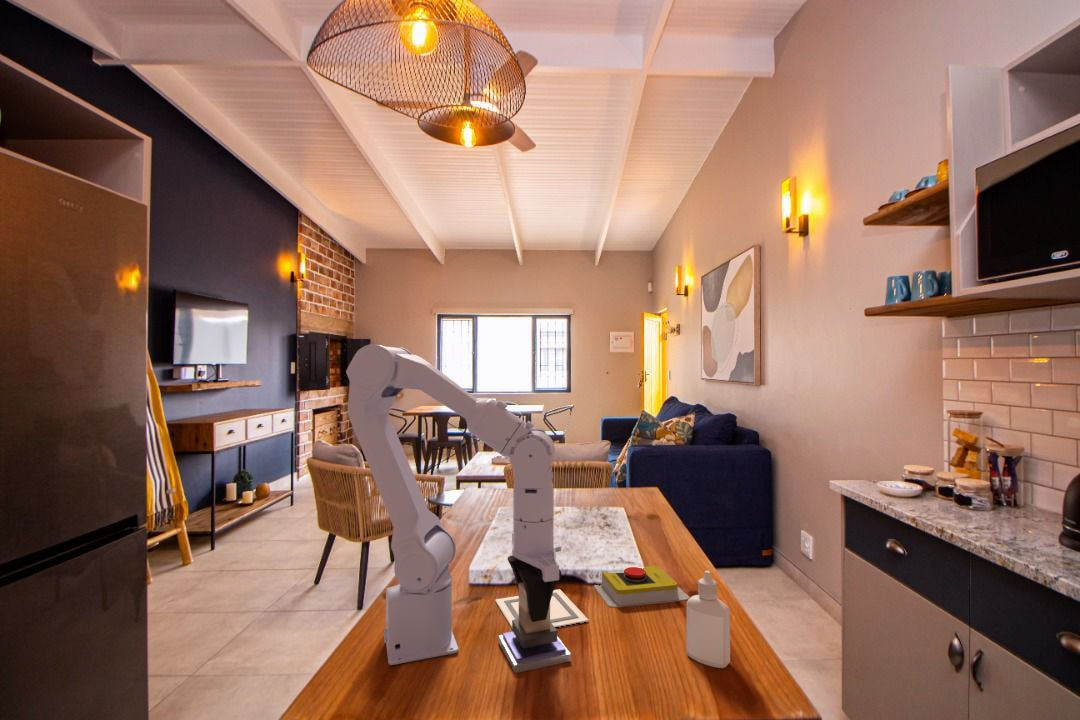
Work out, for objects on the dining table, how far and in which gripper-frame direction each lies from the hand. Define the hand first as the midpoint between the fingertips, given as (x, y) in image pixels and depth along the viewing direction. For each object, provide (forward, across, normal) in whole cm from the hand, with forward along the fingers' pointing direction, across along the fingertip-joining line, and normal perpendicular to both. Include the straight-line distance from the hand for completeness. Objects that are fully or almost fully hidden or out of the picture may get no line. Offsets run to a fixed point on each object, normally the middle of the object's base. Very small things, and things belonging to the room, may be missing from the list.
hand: (533, 613), depth 72 cm
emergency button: (+6, +12, -24) cm, 28 cm away
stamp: (+3, 0, 0) cm, 3 cm away
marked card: (+5, +11, -5) cm, 13 cm away
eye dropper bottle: (+6, -10, -22) cm, 25 cm away
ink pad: (+5, 0, 0) cm, 5 cm away
